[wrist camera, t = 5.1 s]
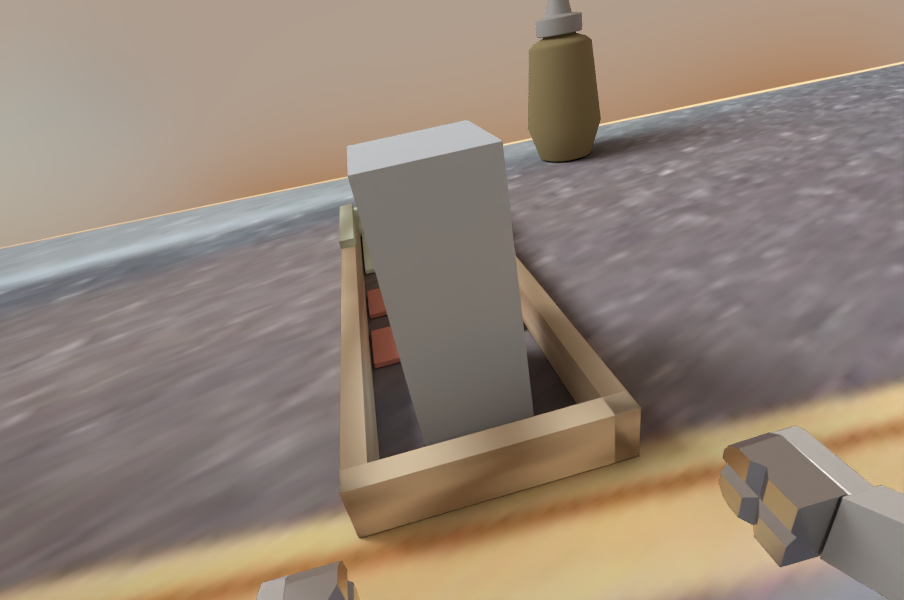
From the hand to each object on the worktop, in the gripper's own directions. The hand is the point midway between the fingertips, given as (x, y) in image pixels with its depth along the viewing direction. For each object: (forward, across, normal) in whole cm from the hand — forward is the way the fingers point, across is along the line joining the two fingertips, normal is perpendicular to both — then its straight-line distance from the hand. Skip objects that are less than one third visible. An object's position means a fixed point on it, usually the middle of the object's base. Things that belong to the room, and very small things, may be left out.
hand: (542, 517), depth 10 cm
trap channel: (+22, 0, +6) cm, 23 cm away
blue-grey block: (+12, 0, +6) cm, 13 cm away
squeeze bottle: (+48, -21, +7) cm, 52 cm away
